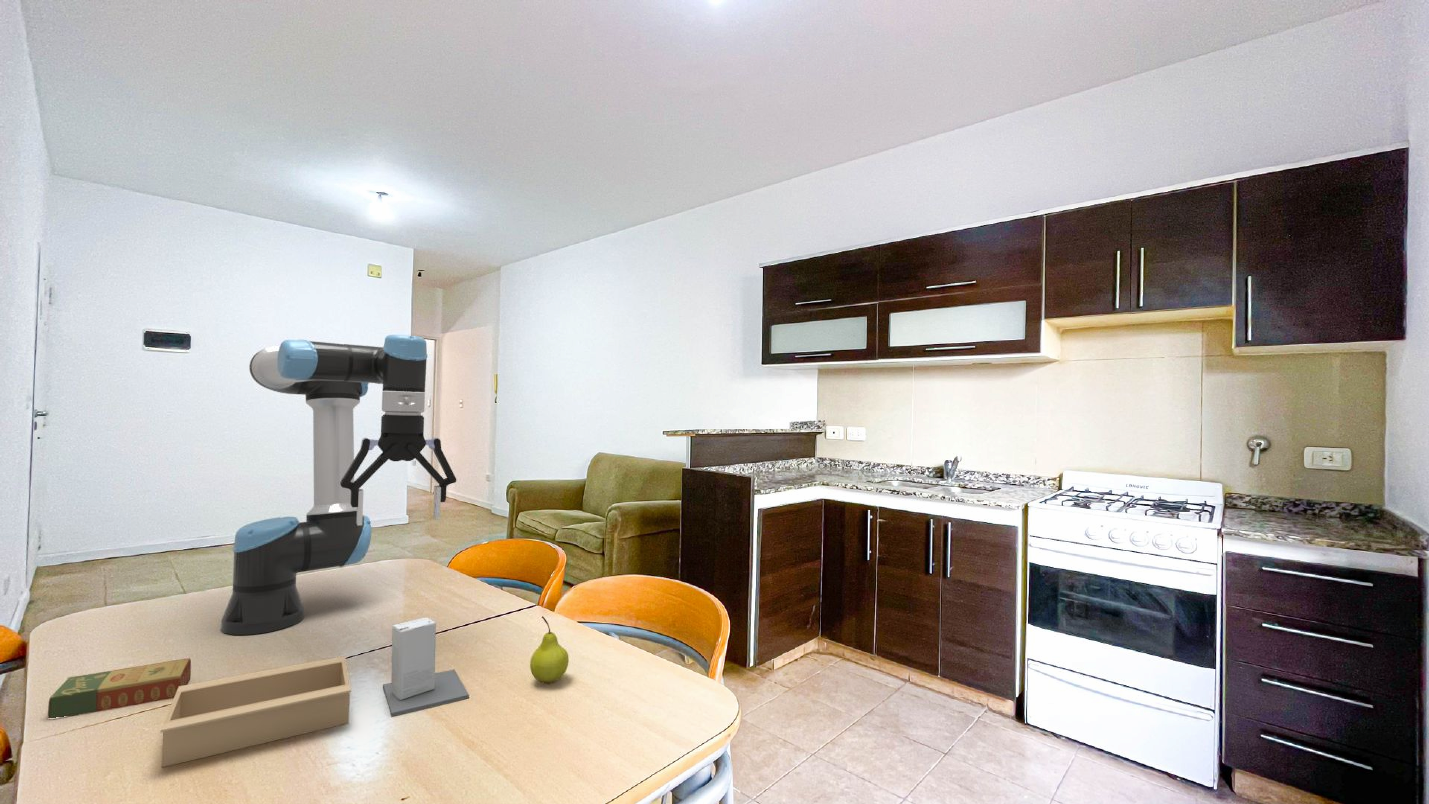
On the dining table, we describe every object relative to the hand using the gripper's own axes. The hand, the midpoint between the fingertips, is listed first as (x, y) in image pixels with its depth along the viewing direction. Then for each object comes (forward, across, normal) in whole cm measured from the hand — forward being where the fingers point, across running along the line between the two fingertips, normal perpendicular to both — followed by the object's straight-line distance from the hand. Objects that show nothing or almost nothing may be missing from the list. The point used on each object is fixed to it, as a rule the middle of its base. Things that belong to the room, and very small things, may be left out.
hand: (399, 521), depth 119 cm
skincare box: (+27, +1, -17) cm, 32 cm away
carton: (+29, -40, +8) cm, 50 cm away
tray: (+28, -20, -16) cm, 38 cm away
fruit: (+28, +23, -24) cm, 43 cm away
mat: (+28, +3, -17) cm, 33 cm away
